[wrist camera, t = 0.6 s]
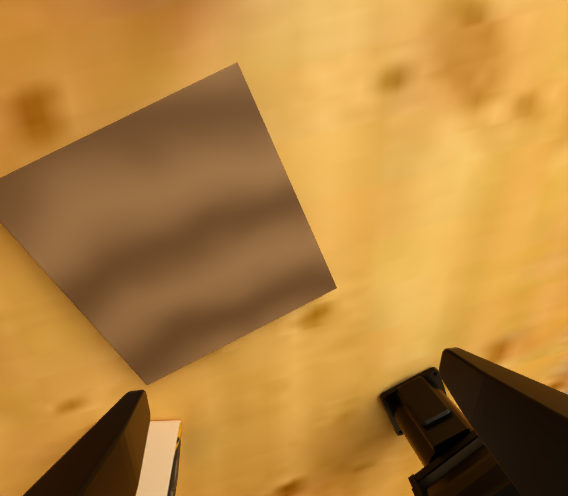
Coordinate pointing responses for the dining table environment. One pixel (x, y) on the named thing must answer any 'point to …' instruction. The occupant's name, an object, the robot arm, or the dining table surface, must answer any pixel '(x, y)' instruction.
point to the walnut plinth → (171, 226)
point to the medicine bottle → (161, 459)
